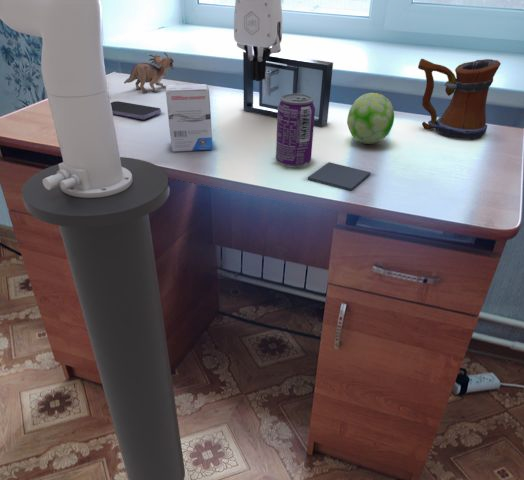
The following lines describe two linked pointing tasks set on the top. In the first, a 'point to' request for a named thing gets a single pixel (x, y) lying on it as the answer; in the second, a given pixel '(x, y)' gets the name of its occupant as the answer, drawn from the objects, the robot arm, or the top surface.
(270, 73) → the sash
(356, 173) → the coaster
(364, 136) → the decorative ball
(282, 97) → the beverage can
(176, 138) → the ink box
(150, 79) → the dinosaur figurine
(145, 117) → the smartphone
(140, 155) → the top surface
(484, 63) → the mug
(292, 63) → the window frame
